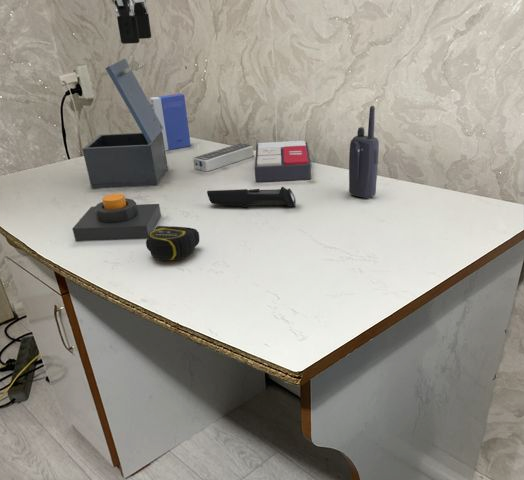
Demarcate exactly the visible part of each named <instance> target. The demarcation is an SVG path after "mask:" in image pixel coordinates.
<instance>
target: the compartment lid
mask: <svg viewBox="0 0 524 480" xmlns="http://www.w3.org/2000/svg"><path fill="white" fill-rule="evenodd" d="M145 66H146V60H145V58H143V57H138V58H137V59H135V60H133V61H131V62H130V65H129V62H128V61H127V59H126V58H122V59H121V60H119V61H117V62H115V63H113V64H111V65H108V66H107V67H105V71H106V72H107V74H108V76H109V77H110V79H111V81H112V83H113V84H114V86H115V88H116V89H117V91H118V93H119V95H120V97H121V98H122V100H123V102H124V103H125V105H126V107H127V109H128V110H129V112H130V114H131V115H132V118H133V119H134V121H135V123H136V124H137V127H138V128H139V130H140V132H141V133H143V135H144V137H145V138H146V140H147V142H148V144H149V143H151V142H152V141H153V140H154V139H155V138H156V137H157V135H158V134H159V133H160V132H161V131H162V129H163V127H162V125H161V123H160V121H159V119H158V117H157V116H156V114H155V112H154V110H153V108H152V106H151V102H150V101H149V99H148V97H147V95H146V94H145V92H144V90H143V88H142V87H141V84H140V82H139V81H138V79H137V78H136V75H135V73H134V71H135V72H137V71H139V70H141V69H143V68H144V67H145Z"/></svg>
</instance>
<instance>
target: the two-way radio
mask: <svg viewBox="0 0 524 480" xmlns="http://www.w3.org/2000/svg"><path fill="white" fill-rule="evenodd" d="M375 109H376V107H375V105H371V106H370V107H369V114H368V126H367V127H368V128H367V135H365V134H366V133H365V127H363V126H361V127H360V126H359V127H358V129H357V133H356V134H357V135H356V136H354V137H352V139H351V140H350V143H349V152H348V153H349V154H348V158H349V159H348V192H349V194H350V195H353V196H355V197H359V198H365V199H369V198H373V197H375V196H376V191H377V190H376V189H377V180H378V166H379V165H378V164H379V151H380V142H379V141H380V140H379V139H378V138H377V137H375V118H376V117H375V115H376V113H375V112H376V110H375Z"/></svg>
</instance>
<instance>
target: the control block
mask: <svg viewBox="0 0 524 480" xmlns="http://www.w3.org/2000/svg"><path fill="white" fill-rule="evenodd" d="M125 200H126V205H127V206H125V207H123V208H119V209H113V210H107V209H104V205H103V201H101V202H99V203H97V204H96V205H95V206H90V207H89V209H88V210H87V211H86V212H85V213H84V215H83V216H82V217H81V218H79V220H78V221H77V223H76V224H75V225H74V226H73V227H72V233H73V236H74V240H75V242H90V241H91V242H96V241H117V240H118V241H119V240H120V241H122V240H123V241H124V240H147V239H148V235H149V233H150V232H151V231H153V230H155V228H156V227H157V225H158V223H159V221H160V219H161V217H162V212H161V207H160V203H145V204H144V203H143V204H137V202H136V201H135V200H134V199H132V198H127V197H125Z"/></svg>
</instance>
